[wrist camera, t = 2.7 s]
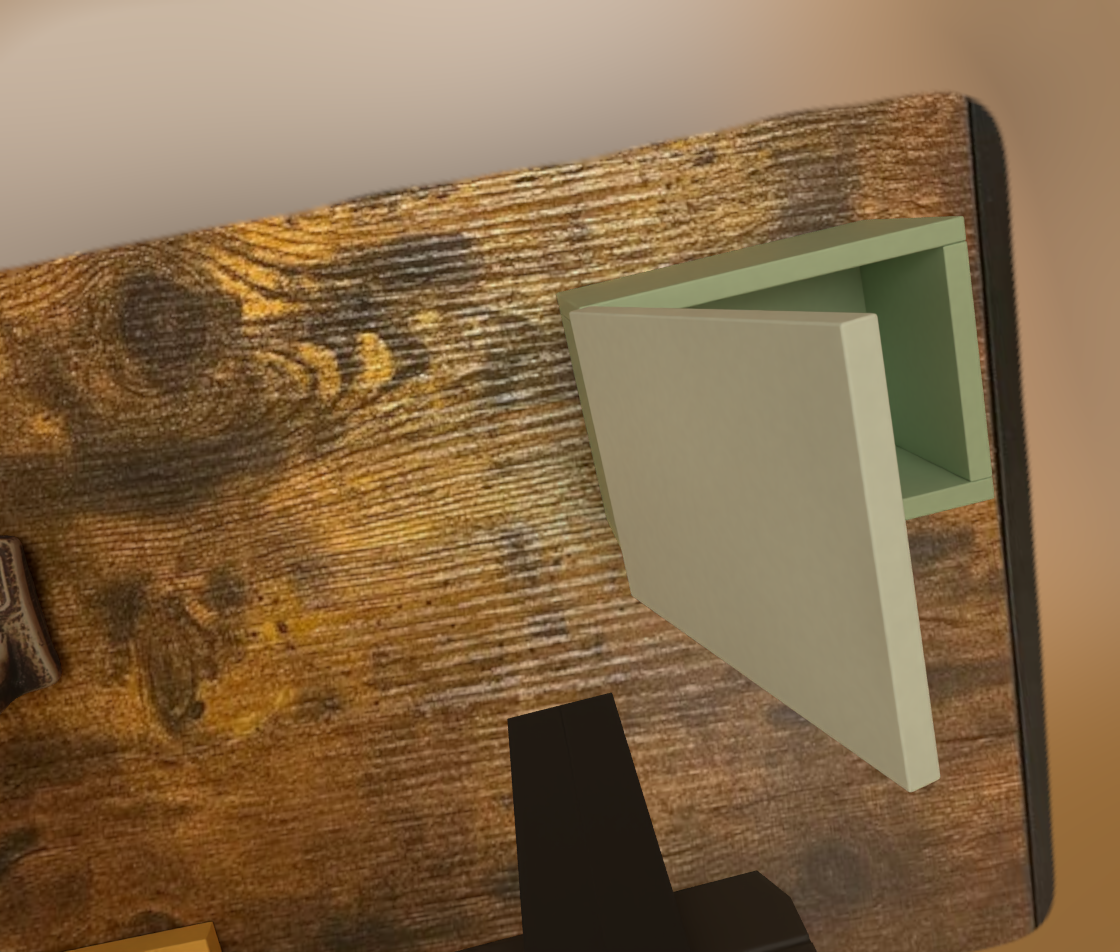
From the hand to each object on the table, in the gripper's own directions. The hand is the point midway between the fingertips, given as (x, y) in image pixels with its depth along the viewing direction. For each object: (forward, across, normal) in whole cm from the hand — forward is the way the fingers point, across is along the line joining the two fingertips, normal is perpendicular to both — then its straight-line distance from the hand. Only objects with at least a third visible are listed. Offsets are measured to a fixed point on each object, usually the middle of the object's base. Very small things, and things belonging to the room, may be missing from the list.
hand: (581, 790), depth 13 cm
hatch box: (+26, +9, 0) cm, 27 cm away
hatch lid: (+11, +5, 0) cm, 12 cm away
